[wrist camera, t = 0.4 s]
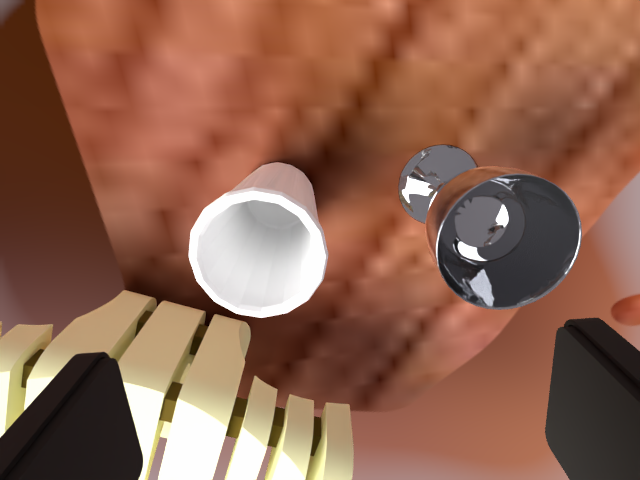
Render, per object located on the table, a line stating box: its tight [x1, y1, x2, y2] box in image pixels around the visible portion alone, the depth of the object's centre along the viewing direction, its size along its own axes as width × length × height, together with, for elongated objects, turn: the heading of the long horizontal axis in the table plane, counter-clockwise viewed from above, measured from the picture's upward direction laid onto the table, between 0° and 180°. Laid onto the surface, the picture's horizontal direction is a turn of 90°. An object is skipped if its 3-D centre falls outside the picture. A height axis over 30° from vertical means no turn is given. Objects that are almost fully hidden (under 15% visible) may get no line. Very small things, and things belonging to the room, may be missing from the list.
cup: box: [188, 162, 328, 318], centre depth 32 cm, size 8×8×14 cm
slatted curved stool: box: [0, 290, 354, 480], centre depth 36 cm, size 30×16×18 cm, turn 73°
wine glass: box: [398, 145, 582, 310], centre depth 32 cm, size 8×8×15 cm
